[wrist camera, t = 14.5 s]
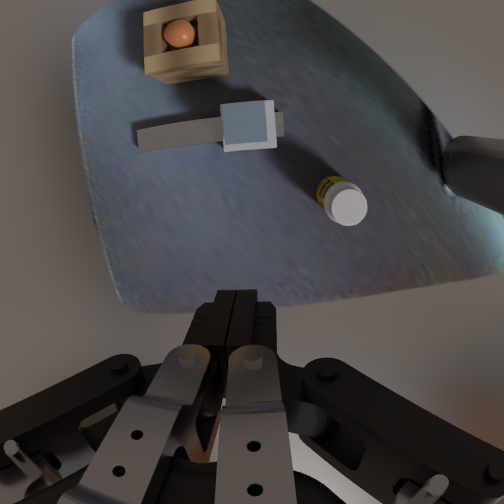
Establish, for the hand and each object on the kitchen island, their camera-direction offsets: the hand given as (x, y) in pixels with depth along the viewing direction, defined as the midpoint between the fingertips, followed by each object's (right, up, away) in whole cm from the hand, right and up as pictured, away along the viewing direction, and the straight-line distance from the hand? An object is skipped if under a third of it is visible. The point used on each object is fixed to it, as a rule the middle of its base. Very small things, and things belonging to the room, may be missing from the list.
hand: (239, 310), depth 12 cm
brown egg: (-7, +26, +15) cm, 31 cm away
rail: (-5, +17, +24) cm, 30 cm away
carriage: (0, +18, +24) cm, 29 cm away
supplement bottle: (+11, +10, +26) cm, 30 cm away
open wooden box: (-7, +28, +20) cm, 35 cm away
